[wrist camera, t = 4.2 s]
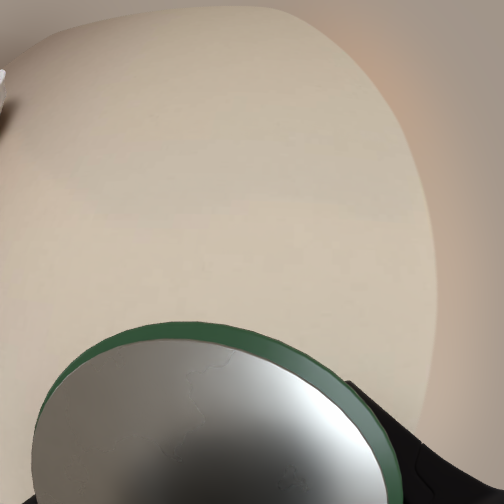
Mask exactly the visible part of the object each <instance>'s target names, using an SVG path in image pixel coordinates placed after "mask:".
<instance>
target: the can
mask: <svg viewBox="0 0 504 504" xmlns="http://www.w3.org/2000/svg"><path fill="white" fill-rule="evenodd" d="M32 478H33V486H34V491H35V495H36V498H37V502H38V504H403V487H402V475H401V472H400V468H399V464H398V460H397V456H396V453H395V451H394V448H393V446H392V444H391V442H390V440H389V437H388V435H387V433H386V431H385V429H384V428H383V426H382V425H381V423H380V422H379V420H378V419H377V417H376V416H375V414H374V413H373V411H372V410H371V408H370V407H369V406H368V405H367V404H366V403H365V402H364V401H363V399H362V398H361V397H360V396H359V395H358V394H357V393H356V392H355V391H354V389H353V388H352V387H350V386H349V385H348V384H347V383H346V382H344V381H343V380H342V379H341V378H340V377H339V376H337V375H336V374H335V373H334V372H333V371H331V370H330V369H329V368H327V367H325V366H324V365H322V364H321V363H319V362H318V361H316V360H315V359H313V358H312V357H310V356H309V355H307V354H305V353H303V352H301V351H299V350H297V349H295V348H293V347H291V346H289V345H287V344H285V343H283V342H281V341H279V340H276V339H273V338H270V337H267V336H265V335H262V334H259V333H256V332H254V331H250V330H246V329H241V328H237V327H233V326H229V325H224V324H215V323H206V322H166V323H158V324H150V325H145V326H141V327H138V328H134V329H130V330H126V331H124V332H121V333H119V334H116V335H114V336H112V337H109V338H107V339H105V340H103V341H101V342H100V343H98V344H96V345H95V346H93V347H91V348H90V349H88V350H86V351H85V352H84V353H83V354H81V355H80V356H79V357H78V358H76V359H75V360H74V361H73V362H72V363H71V364H70V365H69V366H68V367H67V368H66V369H65V370H64V371H63V372H62V374H61V375H60V376H59V377H58V378H57V380H56V381H55V383H54V384H53V386H52V387H51V389H50V390H49V392H48V394H47V396H46V398H45V400H44V402H43V404H42V407H41V409H40V412H39V415H38V419H37V422H36V425H35V431H34V437H33V445H32Z"/></svg>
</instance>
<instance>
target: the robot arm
mask: <svg viewBox="0 0 504 504" xmlns="http://www.w3.org/2000/svg"><path fill="white" fill-rule="evenodd" d="M344 382H346V383H347V384H348V385H349V386H350V387H352V388H353V389H354V391H355V392H356V393H357V394H358V395H359V396H360V397H361V398H362V399H363V401H364V402H365V403H366V404H367V405H368V406H369V407H370V408H371V410H372V411H373V413H374V414H375V416H376V417H377V419H378V420H379V422H380V423H381V425H382V426H383V428H384V429H385V431H386V433H387V435H388V437H389V440H390V442H391V444H392V446H393V448H394V451H395V453H396V456H397V460H398V464H399V468H400V472H401V475H402V487H403V504H504V490H500V489H496V488H493V487H490V486H488V485H486V484H484V483H482V482H480V481H479V480H477V479H475V478H473V477H472V476H470V475H468V474H467V473H465V472H463V471H461V470H459V469H458V468H456V467H455V466H453V465H452V464H450V463H449V462H447V461H445V460H444V459H443V458H441V457H440V456H438V455H437V454H436V453H435V452H433V451H432V450H431V449H430V448H428V447H427V446H426V445H425V444H424V443H423V444H421V443H422V442H421V441H420V440H419V439H417V438H416V437H415V436H414V435H413V434H412V433H410V432H409V431H408V430H407V429H406V428H404V427H403V426H402V425H401V424H400V423H399V422H397V421H396V420H395V419H394V418H393V417H392V416H390V415H389V414H388V413H387V412H386V411H385V410H383V409H382V408H381V407H380V406H379V405H378V404H376V403H375V402H374V401H373V400H372V399H371V398H370V397H368V396H367V395H366V394H365V393H364V392H363V391H362V390H360V389H359V388H358V387H357V386H356V385H355V384H354V383H352V382H351V381H344ZM22 504H38V502H37V498H36V495H33V496H32V497H31V498H29V499H28V500H26V501H25V502H24V503H22Z"/></svg>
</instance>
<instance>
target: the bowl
mask: <svg viewBox="0 0 504 504" xmlns="http://www.w3.org/2000/svg"><path fill="white" fill-rule="evenodd" d="M5 74H6V72H5V70H0V114H1V111H2V107H3V102H4V100H5V98H6V94H7V91H6V88H5V84H4V79H5Z"/></svg>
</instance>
